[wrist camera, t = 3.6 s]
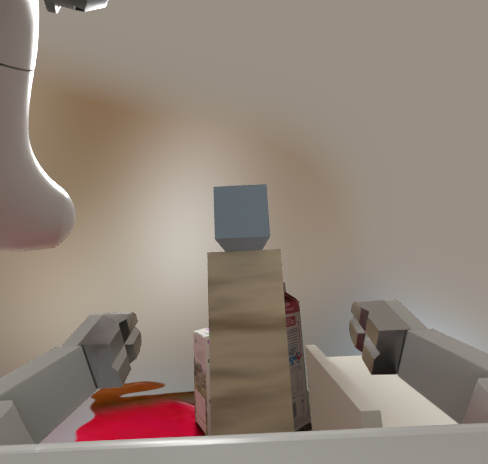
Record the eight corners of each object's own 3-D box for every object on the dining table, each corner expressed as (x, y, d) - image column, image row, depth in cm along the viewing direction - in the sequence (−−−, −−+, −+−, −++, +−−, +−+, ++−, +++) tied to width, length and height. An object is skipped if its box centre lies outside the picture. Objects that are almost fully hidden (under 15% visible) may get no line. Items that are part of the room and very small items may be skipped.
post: (302, 538, 21) (280, 249, 26) (213, 542, 21) (207, 252, 26) (287, 468, 29) (272, 255, 34) (222, 471, 29) (216, 258, 34)
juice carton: (281, 441, 34) (270, 283, 38) (251, 421, 39) (244, 283, 43) (309, 422, 38) (297, 281, 42) (279, 406, 43) (270, 282, 47)
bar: (270, 236, 17) (266, 184, 18) (215, 239, 17) (213, 186, 18) (257, 258, 39) (255, 234, 40) (232, 260, 39) (231, 235, 40)
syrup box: (241, 426, 38) (237, 329, 41) (206, 440, 35) (204, 335, 38) (224, 410, 43) (222, 324, 46) (193, 422, 40) (192, 329, 43)
